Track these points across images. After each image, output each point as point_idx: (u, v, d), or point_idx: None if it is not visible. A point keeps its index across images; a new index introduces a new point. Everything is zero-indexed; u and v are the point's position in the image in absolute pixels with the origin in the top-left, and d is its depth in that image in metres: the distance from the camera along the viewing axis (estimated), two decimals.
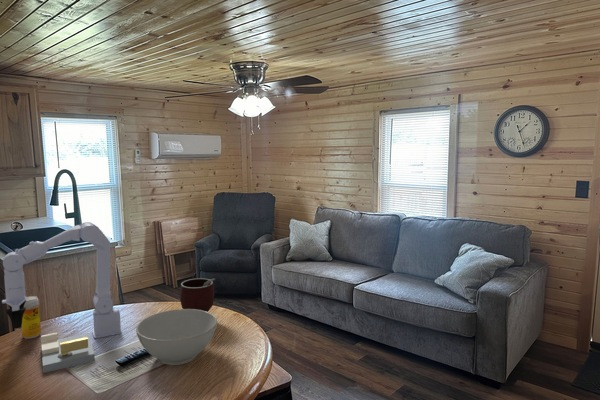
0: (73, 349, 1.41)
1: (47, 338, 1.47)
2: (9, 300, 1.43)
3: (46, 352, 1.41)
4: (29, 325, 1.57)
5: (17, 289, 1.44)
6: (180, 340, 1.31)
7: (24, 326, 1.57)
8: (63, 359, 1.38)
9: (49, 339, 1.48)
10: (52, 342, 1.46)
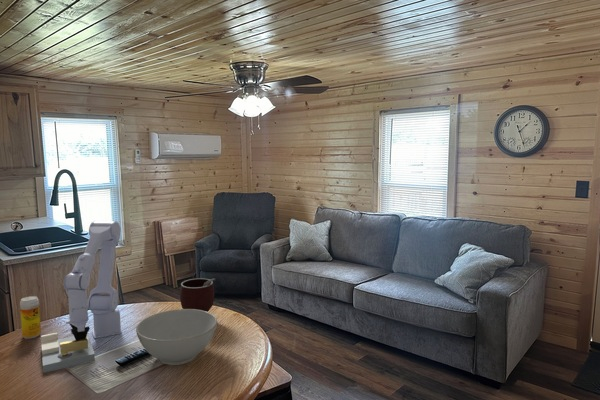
0: (73, 349, 1.41)
1: (47, 338, 1.47)
2: (73, 320, 1.43)
3: (46, 352, 1.41)
4: (29, 325, 1.57)
5: (81, 309, 1.43)
6: (180, 340, 1.31)
7: (24, 326, 1.57)
8: (63, 359, 1.38)
9: (49, 339, 1.48)
10: (52, 342, 1.46)
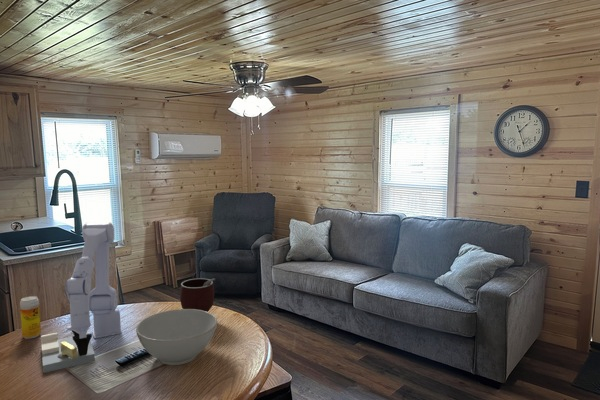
0: (66, 353, 1.38)
1: (47, 338, 1.47)
2: (75, 326, 1.38)
3: (46, 352, 1.41)
4: (29, 325, 1.57)
5: (83, 315, 1.38)
6: (180, 340, 1.31)
7: (24, 326, 1.57)
8: (63, 359, 1.38)
9: (49, 339, 1.48)
10: (52, 342, 1.46)
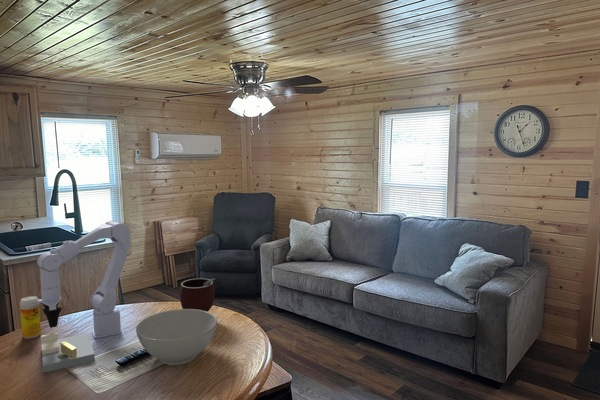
0: (66, 353, 1.38)
1: (47, 338, 1.47)
2: (45, 300, 1.46)
3: (46, 352, 1.41)
4: (29, 325, 1.57)
5: (53, 289, 1.46)
6: (180, 340, 1.31)
7: (24, 326, 1.57)
8: (63, 359, 1.38)
9: (49, 339, 1.48)
10: (52, 342, 1.46)
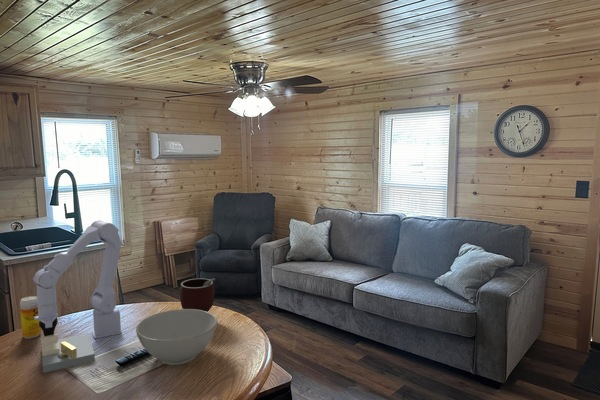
0: (66, 353, 1.38)
1: (47, 339, 1.46)
2: (42, 317, 1.45)
3: (46, 354, 1.40)
4: (29, 325, 1.57)
5: (49, 306, 1.45)
6: (180, 340, 1.31)
7: (24, 326, 1.57)
8: (63, 359, 1.38)
9: (49, 340, 1.46)
10: (53, 344, 1.45)
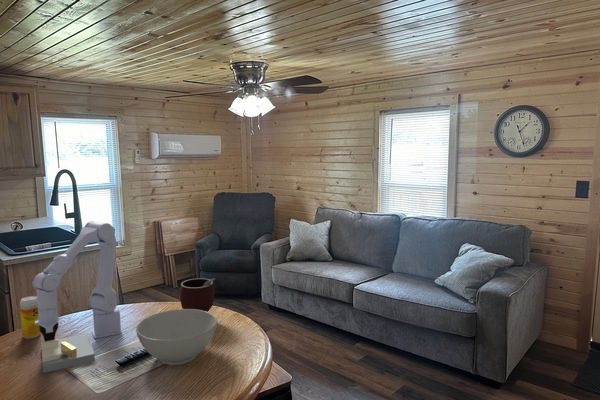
0: (66, 353, 1.38)
1: (48, 344, 1.42)
2: (42, 321, 1.41)
3: (47, 359, 1.36)
4: (29, 325, 1.57)
5: (50, 310, 1.41)
6: (180, 340, 1.31)
7: (24, 326, 1.57)
8: (63, 359, 1.38)
9: (50, 346, 1.43)
10: (53, 349, 1.41)
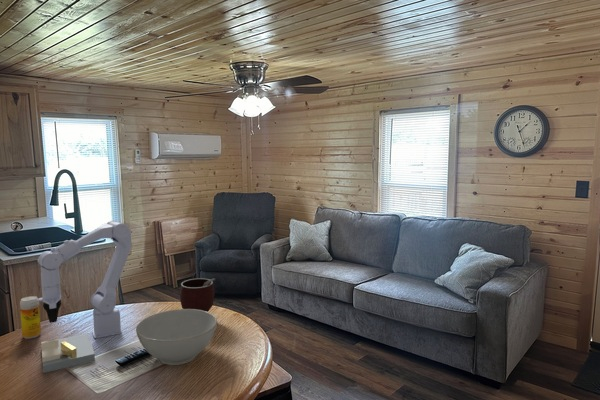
0: (66, 353, 1.38)
1: (48, 344, 1.42)
2: (45, 298, 1.46)
3: (47, 359, 1.36)
4: (29, 325, 1.57)
5: (53, 287, 1.46)
6: (180, 340, 1.31)
7: (24, 326, 1.57)
8: (63, 359, 1.38)
9: (50, 346, 1.43)
10: (53, 349, 1.41)
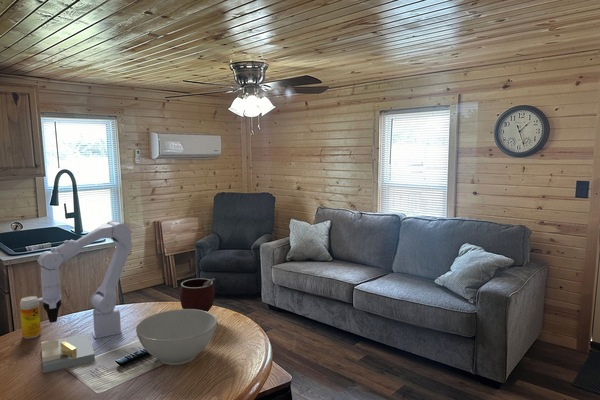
0: (66, 353, 1.38)
1: (48, 344, 1.42)
2: (45, 298, 1.46)
3: (47, 359, 1.36)
4: (29, 325, 1.57)
5: (53, 287, 1.46)
6: (180, 340, 1.31)
7: (24, 326, 1.57)
8: (63, 359, 1.38)
9: (50, 346, 1.43)
10: (53, 349, 1.41)
